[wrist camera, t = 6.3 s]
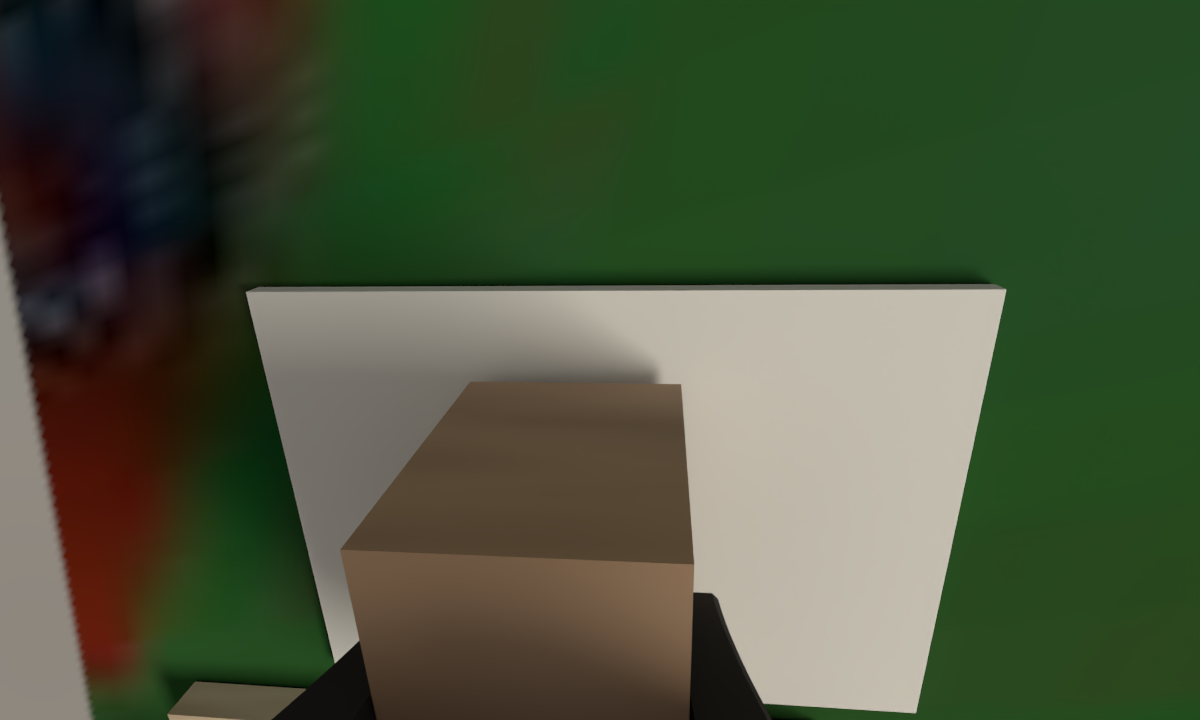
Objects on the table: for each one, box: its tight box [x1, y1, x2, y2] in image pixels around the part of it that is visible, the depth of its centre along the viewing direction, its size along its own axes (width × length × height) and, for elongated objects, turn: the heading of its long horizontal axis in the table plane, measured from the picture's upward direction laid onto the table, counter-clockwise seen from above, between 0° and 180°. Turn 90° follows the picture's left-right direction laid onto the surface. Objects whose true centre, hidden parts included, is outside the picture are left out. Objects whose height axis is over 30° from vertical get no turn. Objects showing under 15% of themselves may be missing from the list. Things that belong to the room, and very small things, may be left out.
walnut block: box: [340, 382, 694, 720], centre depth 10 cm, size 8×4×5 cm, turn 2°
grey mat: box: [246, 284, 1006, 713], centre depth 13 cm, size 10×14×1 cm
